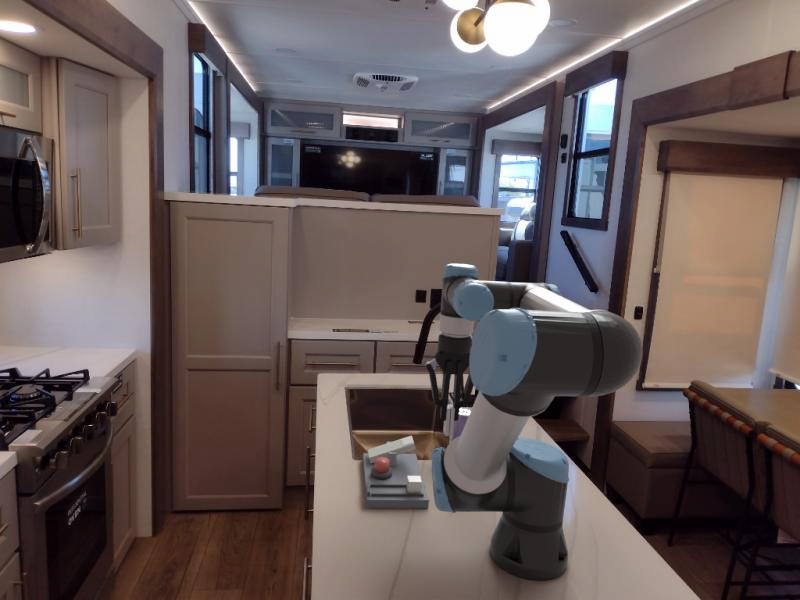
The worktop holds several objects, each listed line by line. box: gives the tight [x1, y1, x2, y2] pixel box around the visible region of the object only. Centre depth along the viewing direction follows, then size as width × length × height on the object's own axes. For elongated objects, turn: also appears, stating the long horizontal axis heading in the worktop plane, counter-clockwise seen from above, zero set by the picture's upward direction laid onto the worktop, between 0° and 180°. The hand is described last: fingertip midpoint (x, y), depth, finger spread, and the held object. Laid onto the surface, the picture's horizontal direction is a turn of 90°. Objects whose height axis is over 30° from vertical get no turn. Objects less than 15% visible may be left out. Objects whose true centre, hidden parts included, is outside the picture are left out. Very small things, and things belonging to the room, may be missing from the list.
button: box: [374, 457, 390, 473], centre depth 141 cm, size 4×4×2 cm
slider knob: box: [407, 476, 422, 493], centre depth 134 cm, size 3×3×3 cm
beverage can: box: [448, 407, 472, 444], centre depth 153 cm, size 6×6×15 cm
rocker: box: [367, 435, 416, 463], centre depth 149 cm, size 5×12×2 cm, turn 96°
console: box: [362, 441, 430, 509], centre depth 142 cm, size 24×14×6 cm, turn 6°
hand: (447, 433), depth 133 cm, fingers closed
